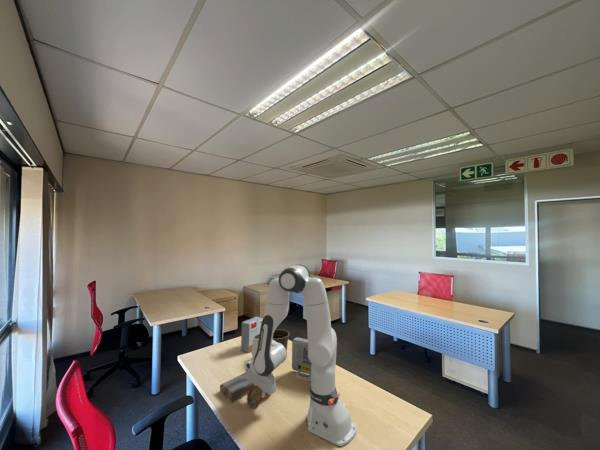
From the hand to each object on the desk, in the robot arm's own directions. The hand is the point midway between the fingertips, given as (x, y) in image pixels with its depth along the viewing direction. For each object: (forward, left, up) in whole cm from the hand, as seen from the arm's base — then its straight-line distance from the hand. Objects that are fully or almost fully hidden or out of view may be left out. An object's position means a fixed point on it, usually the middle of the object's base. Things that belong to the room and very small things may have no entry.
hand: (260, 395), depth 123 cm
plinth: (+15, 0, -3) cm, 15 cm away
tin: (0, 0, -3) cm, 3 cm away
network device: (-5, -34, -3) cm, 35 cm away
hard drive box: (+50, -32, -3) cm, 59 cm away
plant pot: (+26, -35, -3) cm, 44 cm away
